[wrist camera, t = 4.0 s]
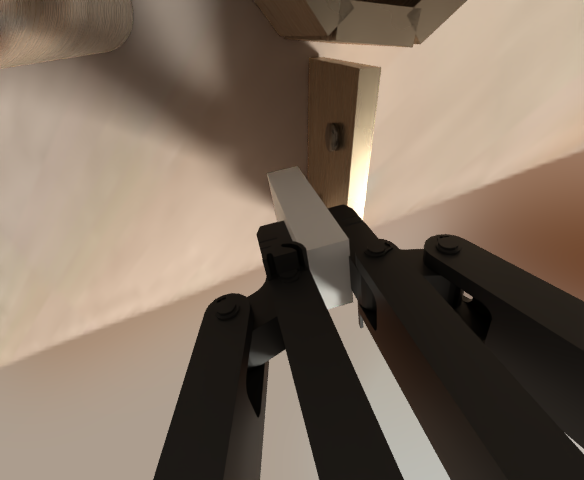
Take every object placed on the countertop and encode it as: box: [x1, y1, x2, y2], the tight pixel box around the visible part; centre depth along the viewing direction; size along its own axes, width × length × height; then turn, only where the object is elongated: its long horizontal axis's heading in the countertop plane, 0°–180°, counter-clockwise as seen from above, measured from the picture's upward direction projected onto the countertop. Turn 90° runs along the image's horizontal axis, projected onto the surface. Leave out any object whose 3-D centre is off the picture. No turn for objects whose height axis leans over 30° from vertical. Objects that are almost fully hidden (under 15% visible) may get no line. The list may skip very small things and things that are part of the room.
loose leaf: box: [307, 57, 381, 220], centre depth 16 cm, size 10×1×6 cm, turn 1°
